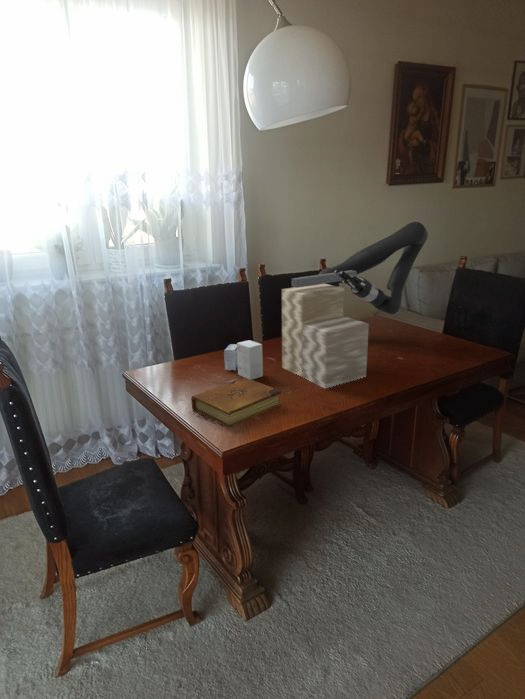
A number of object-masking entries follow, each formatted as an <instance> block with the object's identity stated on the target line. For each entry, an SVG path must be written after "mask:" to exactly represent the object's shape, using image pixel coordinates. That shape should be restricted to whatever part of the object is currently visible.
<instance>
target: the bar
mask: <svg viewBox="0 0 525 699" xmlns="http://www.w3.org/2000/svg"><path fill="white" fill-rule="evenodd" d="M344 272H345V273H347V274H348V275H351V276H355V277H357V275H358V274H357V271H354V270H349V271H344ZM340 273H341V272H334V273H327V274H320V275H318V274H314V275H307V276H299V277H293V278H291V288H293V287H296V288H298V287H304V286H311V285H317V284H324V283H331V282H337V281H344V280H345V279H344V278H342V277H340ZM357 278H358V277H357Z"/></svg>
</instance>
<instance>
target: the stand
mask: <svg viewBox="0 0 525 699" xmlns="http://www.w3.org/2000/svg"><path fill="white" fill-rule="evenodd" d="M344 296H345V288H344V287H340V286H339V287H337V286H333V285H328V284H317V285H311V286H304V287H298V288H296V287H287V288H281V368H282V369H284V370H286V371H289V372H290V373H292V374H294V375H296V374H297V376H298V375H299V377H300V376H301V378H302V377H303V379H304V378H305V379H304V380H306V379H307V381H308V380H309V382H310V381H311V383H312V382H313V383H312V384H314V383H315V385H316V386H318V387H321V388H323V389H326V388H327V389H330V388H333V386H334V387H337V386H340V385H344V384H347V383H350V381H351V382H354V381H358V380H361V379H364V378H363V377H365V378H366V377H367V368H368V367H367V366H368V365H367V364H368V346H369V345H368V344H369V329H370V328H369V327H370V324H369V323H367V322H364V321H361V320H359V319H358V320H357V319H355V318H354V319H353V318H351V317H348V316H345V315H344V303H345V301H344V300H345V297H344ZM360 378H361V379H360ZM357 379H358V380H357ZM353 380H354V381H353ZM346 382H347V383H346ZM343 383H344V384H343ZM339 384H340V385H339ZM336 385H337V386H336ZM329 387H330V388H329Z"/></svg>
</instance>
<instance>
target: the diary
mask: <svg viewBox="0 0 525 699" xmlns="http://www.w3.org/2000/svg"><path fill="white" fill-rule="evenodd" d="M280 394H282V390H279V389H277V388H274V387H271V386H269V385H266V384H263V383H261V382H258V381H255V380H254V379H252V380H251V379H248V378H245V377H242V378H239V379H236V380H233V381H231V382H230V381H229V382H228V383H225V384H222V385H219V386H217V387H214V388H211V389H208V390H205V391H202V392H200V393H197V394H194V395H192V396H191V409H192V411H194V412H196V413H199V414H200V415H203V417H207V418H209V419H211V420H212V421H214V422H216V423H219V424H221V425H223V426H225V427H227V428H232V427H234V426H236V425H239V424H241V423H242V422H245V421H247V420H250V419H252V418H255V417H256V416H259V415H261V414H263V413H266V412H268V411H270V410H273V409H275V408H277V407H279V406H281V405H282V404H281V403H280V402H279V395H280Z"/></svg>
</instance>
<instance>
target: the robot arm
mask: <svg viewBox="0 0 525 699" xmlns="http://www.w3.org/2000/svg"><path fill="white" fill-rule="evenodd" d="M428 234H429V233H428V230H427V228H426V227H425V225H424V224H423V223H421V222H419V221H411V222H409V223H408V224H406V225H405V226H403V227H401V228H400V229H399V230H396V231H395V232H393V233H392V234H390V235H389V236H386V237H384V238H381V239H380V240H378V241H376V242H374V243H372V244H370V245H368V246H366V247H364V248H362V249H361V250H358V251H357V252H356V253H354V254H352V255H351V256H349V257H348V258H347V259H345V261H343V262H341V263H339V264H336V265H335V266H332V267H325V268H323V269H322V270H321V271H320V272H319V273H318V274H317V275H320V274H327V273H334V272H341V273H340V277H342V278H344V279H345V280H344V281H337V282H331V283H324V284H328V285H333V286H337V287H340V284H345V285H346V286H347V287H349V288H350V290H351V293H352V294H354V295H355V296H357V297H358V298H359V299H361V300H362V301H364V302H367V303H369V304H371V305H372V306H373V307H375V309H376V310H378V311H381V312H384V313H386V314H388V315H389V314H390V315H396V314H397V313H398V312H399V311H400V308H401V305H402V298H403V292H404V287H405V285H406V282H407V280H408V278H409V275H410V272H411V270H412V268H413V265H414V263H415V261H416V258H417V257H418V255H419V253H420V251H421V250H422V248H423V246H424V245H425V243H426V242H427V239H428V236H429V235H428ZM401 249H403V251H402V254H401V256H400V258H399V259H398V261H397V262H396V264H395V265H394V267H393V269H392V271H391V274H390V275H389V279H388V281H387V284H386V289H387V290H388V291H390V296H389V295H386V294H385V292H384V291H382V289H380V288H378V287H377V286H376V285H375V284H373V283H372V282H370V281H369V280H368V279H366V278H364V277H355V276H351V275H348V274H347V273H345V272H344V271H349V270H354V271H357V275H359V274H362V273H364V272H367V271H369V270H371V269H372V268H375V267H377V266H379V265H381V264H382V263H384V262H385V261H386V260H387V259H388V258H390V257H391V256H392V255H393V254H394V253H396V252H397V251H399V250H401Z"/></svg>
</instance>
